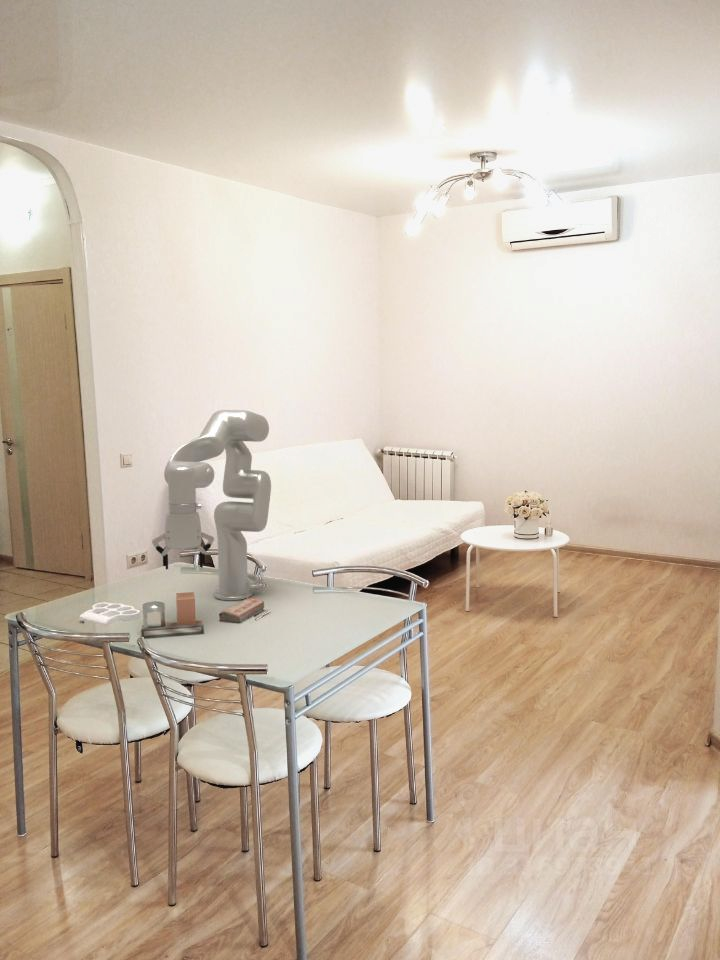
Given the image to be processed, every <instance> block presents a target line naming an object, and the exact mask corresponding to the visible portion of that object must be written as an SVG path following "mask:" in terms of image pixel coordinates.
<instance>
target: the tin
mask: <svg viewBox="0 0 720 960" xmlns="http://www.w3.org/2000/svg"><path fill="white" fill-rule="evenodd" d="M165 606H166V605H165V602H163V601H159V600H158V601H148V602H144V603H143V604H142V623H143V624H142V625H143V629H146V628H159V627H165V623H166V613H165V611H166V609H165Z"/></svg>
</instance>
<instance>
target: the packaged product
mask: <svg viewBox="0 0 720 960" xmlns="http://www.w3.org/2000/svg"><path fill="white" fill-rule="evenodd" d="M264 608H265V602H264V600H263V599H260V598H254V597H253V598H252V597H249V598H246V599H241V601H240V600H239V601H238V602H237V603H235V604H233V605H230V606H229V607H227V608H225V609H223V610H221V611H220V612H219V614H218V616H219V617H218V618H219V622H222V623H226V622H227V623H237V624H238V623H239V624H241V623H242V622H245V621H246V620H248V619H250V618H252V617H253V618H254V620H256V619H257V618H259V617H260V616H262V615H263V614H265V613H267V612H268V610H269V609H264ZM256 621H257V620H256Z"/></svg>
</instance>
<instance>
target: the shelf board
mask: <svg viewBox="0 0 720 960" xmlns="http://www.w3.org/2000/svg"><path fill="white" fill-rule="evenodd" d="M140 630H141V631H140V635H141V638H142V637H144V638H145V639H155V638H156V639H157V638H168V637H170V638H171V637H180V636H193V635H194V636H195V635H204V634H205V632H204V631H205V626H204V624H203V621H202V620H196V625H185V626H178V625H177V621H175V622H165V627H159V628H146V629H143V624H142V625H141V629H140Z"/></svg>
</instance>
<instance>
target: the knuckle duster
mask: <svg viewBox="0 0 720 960" xmlns="http://www.w3.org/2000/svg"><path fill="white" fill-rule="evenodd" d="M140 618H141V610H140V609H136V608H135V607H134V606H132V605H125V604H124V603H119V602H118V603H110V602H105V601H104V602H98V603H95V604H92V606H91V609H88V610H86V611H85V612H83V613H81V614H80V616H79V618H78V619H79V621H81V622H83V623H85V621H88V622H91V623H95V624H99V625H101V626H102V625H103V626H108V625H110V624H113V623H116V622H119V621H124V622H125V621H127V622H129V621H135V620H137V619H140Z"/></svg>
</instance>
